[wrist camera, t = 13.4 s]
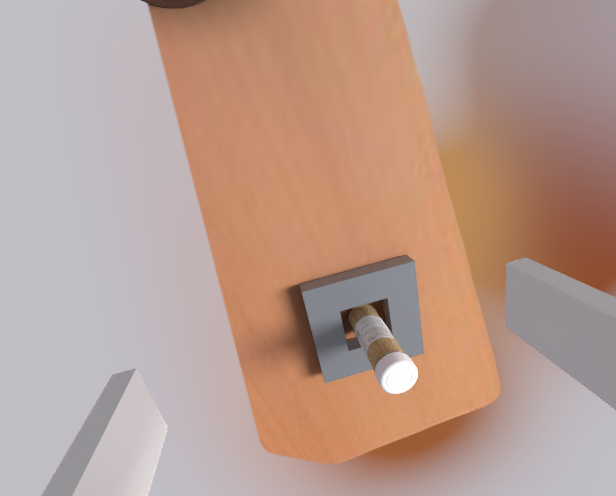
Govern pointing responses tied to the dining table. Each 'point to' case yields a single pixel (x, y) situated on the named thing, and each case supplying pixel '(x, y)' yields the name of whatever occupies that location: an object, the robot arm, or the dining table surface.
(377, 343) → the sprinkles bottle
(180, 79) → the dining table surface
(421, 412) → the dining table surface
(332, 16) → the dining table surface
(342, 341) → the socket plate
